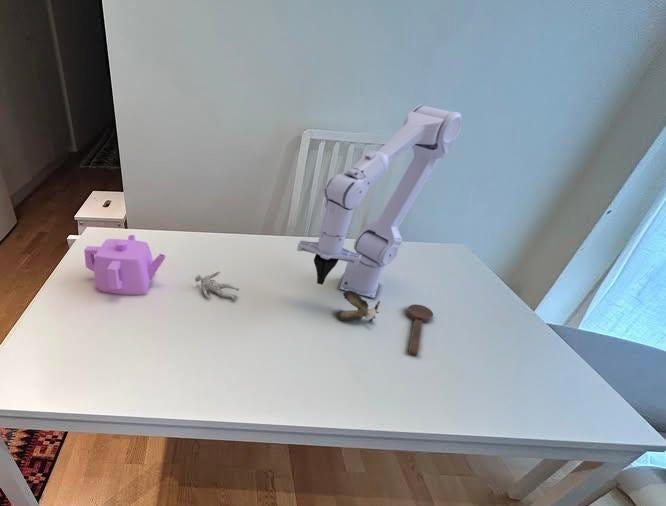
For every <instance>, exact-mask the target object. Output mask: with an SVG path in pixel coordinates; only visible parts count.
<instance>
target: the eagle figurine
mask: <svg viewBox="0 0 666 506" xmlns="http://www.w3.org/2000/svg"><path fill="white" fill-rule="evenodd" d="M342 295H343V298H344V299H345V300H346V301H347V302H348V303H349V304H350V305H352V306H353V307H355V308H356V309H357V310H338V311H337V312H335V316H336V317H337V319H339V320H341V321H346V320H347V321H349V320H350V321H356V322H357V321H361V320H362V318H363V317H365V318H366V320H367V321H369V322H370V323H373V319H376V315H377V314H379V313H380V312H379V311H378V309H379V305H380V303H381V301H380V300H379V301H377V303H376V304H375V305H374V307H372V308H369V303H368V302H367V300H365V299H363V298H362V297H361V295H359V294H357V293H356V292H354V291H350V290H348V291H345V290H344V292H342Z"/></svg>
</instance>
